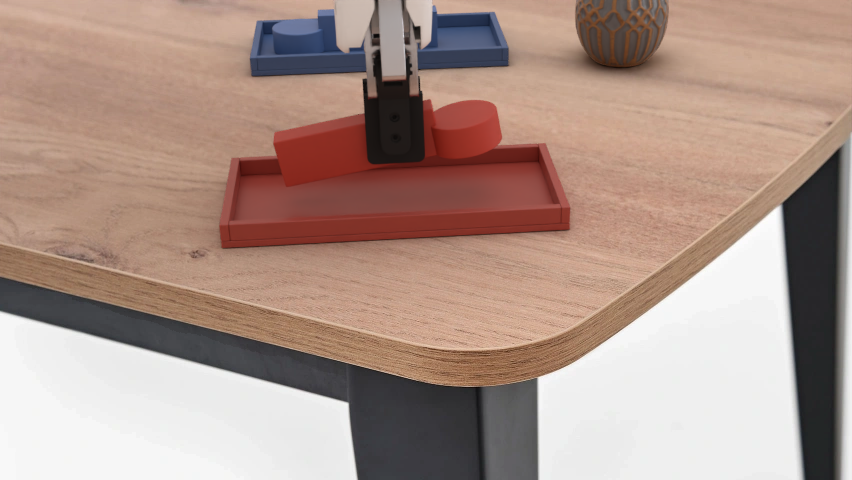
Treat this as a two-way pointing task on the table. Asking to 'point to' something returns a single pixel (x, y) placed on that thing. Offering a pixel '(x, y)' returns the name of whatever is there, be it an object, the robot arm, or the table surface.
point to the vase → (621, 29)
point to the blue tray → (457, 47)
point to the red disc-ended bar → (347, 152)
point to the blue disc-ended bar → (320, 34)
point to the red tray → (396, 200)
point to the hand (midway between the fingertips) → (395, 150)
